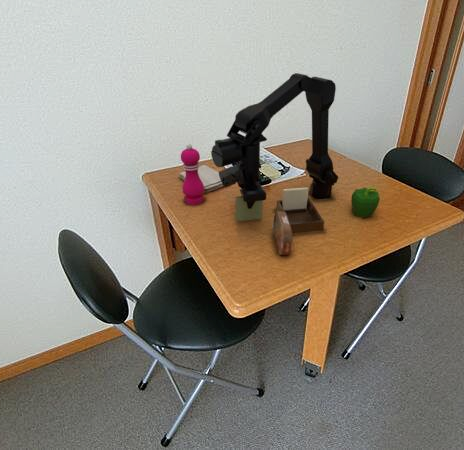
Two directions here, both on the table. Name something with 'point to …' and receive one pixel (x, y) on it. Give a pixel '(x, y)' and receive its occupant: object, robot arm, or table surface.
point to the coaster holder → (303, 218)
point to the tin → (282, 232)
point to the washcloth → (207, 178)
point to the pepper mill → (192, 176)
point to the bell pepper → (365, 202)
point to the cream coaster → (295, 198)
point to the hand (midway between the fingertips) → (249, 207)
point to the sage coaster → (248, 210)
